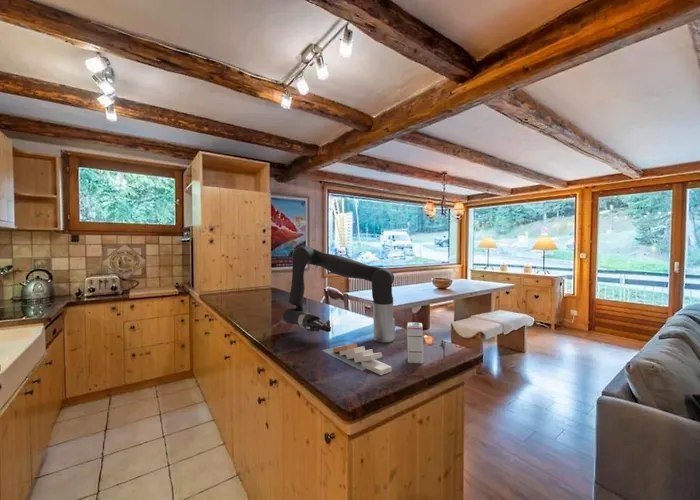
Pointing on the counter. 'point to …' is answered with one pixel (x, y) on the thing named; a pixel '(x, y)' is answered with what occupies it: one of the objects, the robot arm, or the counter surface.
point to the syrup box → (415, 342)
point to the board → (344, 358)
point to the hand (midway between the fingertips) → (329, 329)
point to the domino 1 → (345, 347)
